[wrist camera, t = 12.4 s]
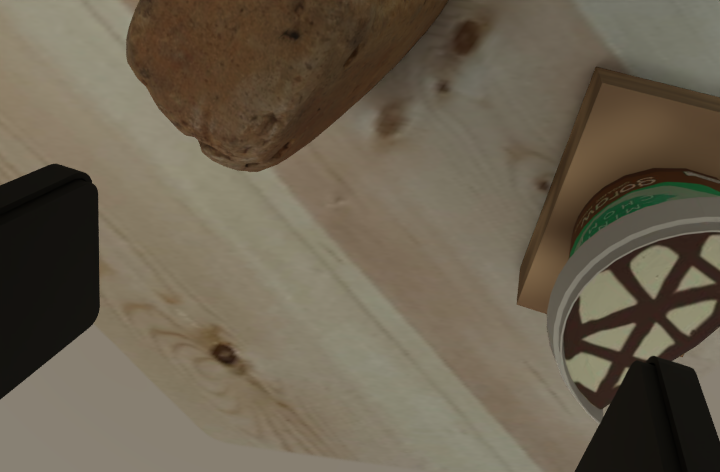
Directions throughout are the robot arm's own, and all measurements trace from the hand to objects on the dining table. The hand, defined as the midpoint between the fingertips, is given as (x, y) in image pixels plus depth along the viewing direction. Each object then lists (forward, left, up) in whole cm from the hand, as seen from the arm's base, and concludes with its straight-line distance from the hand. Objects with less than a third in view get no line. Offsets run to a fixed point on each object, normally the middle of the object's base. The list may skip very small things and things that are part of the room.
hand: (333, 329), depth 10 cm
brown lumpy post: (-1, -8, -31) cm, 32 cm away
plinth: (+6, +11, -30) cm, 33 cm away
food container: (+6, +10, -26) cm, 28 cm away
